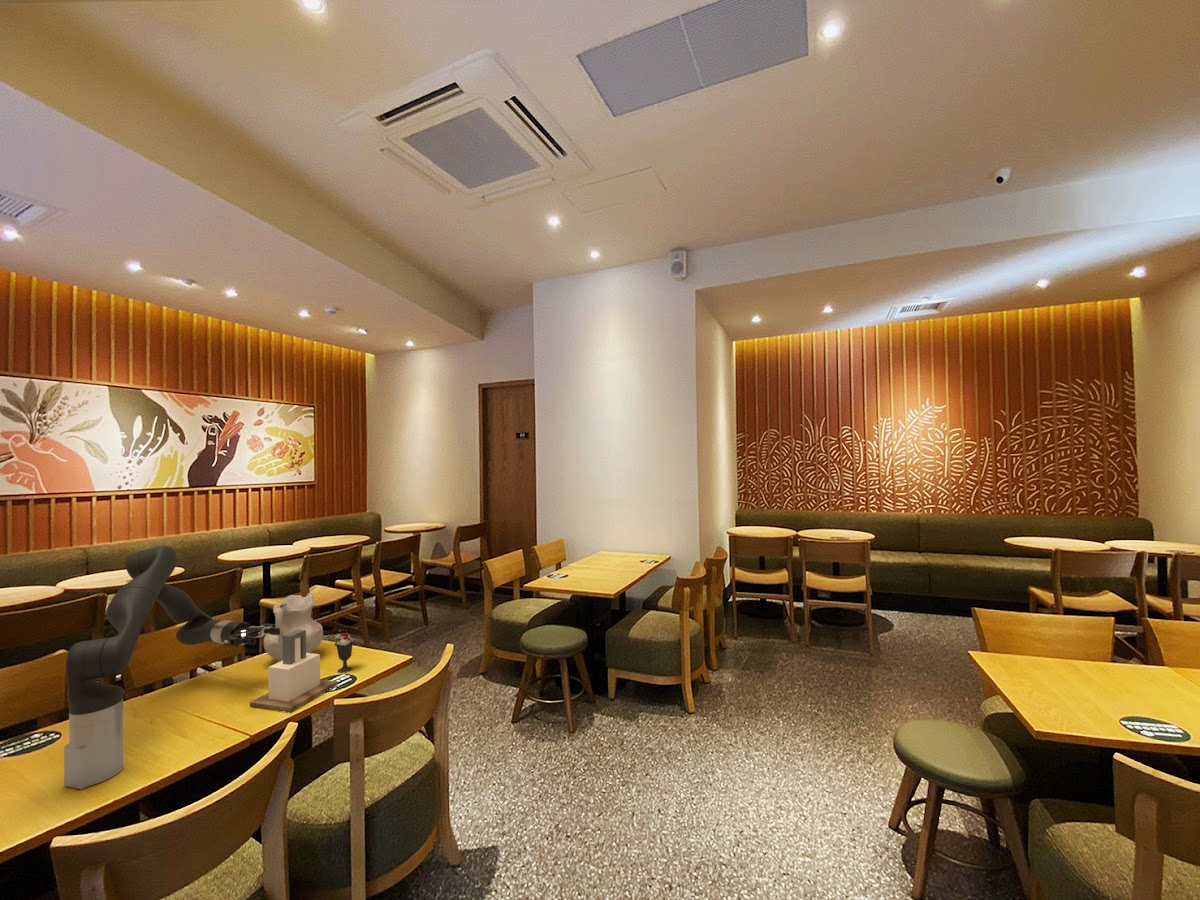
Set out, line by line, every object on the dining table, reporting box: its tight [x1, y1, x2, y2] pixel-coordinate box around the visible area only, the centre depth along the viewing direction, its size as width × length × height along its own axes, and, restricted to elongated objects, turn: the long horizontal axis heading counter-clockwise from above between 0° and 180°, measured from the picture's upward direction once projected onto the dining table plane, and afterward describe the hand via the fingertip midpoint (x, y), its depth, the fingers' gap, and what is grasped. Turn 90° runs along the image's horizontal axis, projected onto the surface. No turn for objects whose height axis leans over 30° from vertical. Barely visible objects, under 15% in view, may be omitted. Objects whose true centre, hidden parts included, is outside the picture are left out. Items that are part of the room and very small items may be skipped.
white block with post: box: [268, 637, 321, 702], centre depth 158 cm, size 12×8×18 cm, turn 165°
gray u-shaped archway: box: [283, 629, 306, 665], centre depth 158 cm, size 6×3×9 cm, turn 164°
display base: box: [249, 678, 338, 714], centre depth 157 cm, size 18×16×2 cm
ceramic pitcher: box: [263, 592, 324, 664], centre depth 186 cm, size 22×20×25 cm
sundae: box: [333, 629, 356, 673], centre depth 177 cm, size 7×7×15 cm
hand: (267, 636), depth 161 cm, fingers open, 8 cm apart
